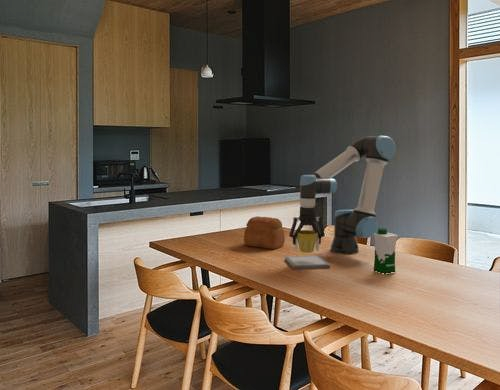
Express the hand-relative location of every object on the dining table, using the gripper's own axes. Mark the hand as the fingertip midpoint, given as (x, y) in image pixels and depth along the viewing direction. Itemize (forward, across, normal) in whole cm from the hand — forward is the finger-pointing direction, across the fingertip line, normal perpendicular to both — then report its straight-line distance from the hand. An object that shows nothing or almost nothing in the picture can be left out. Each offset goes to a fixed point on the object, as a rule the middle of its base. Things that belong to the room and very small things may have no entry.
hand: (306, 250), depth 222 cm
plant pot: (0, 0, 0) cm, 0 cm away
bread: (+7, +14, -42) cm, 45 cm away
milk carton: (+7, -32, +19) cm, 38 cm away
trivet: (+7, 0, 0) cm, 7 cm away
